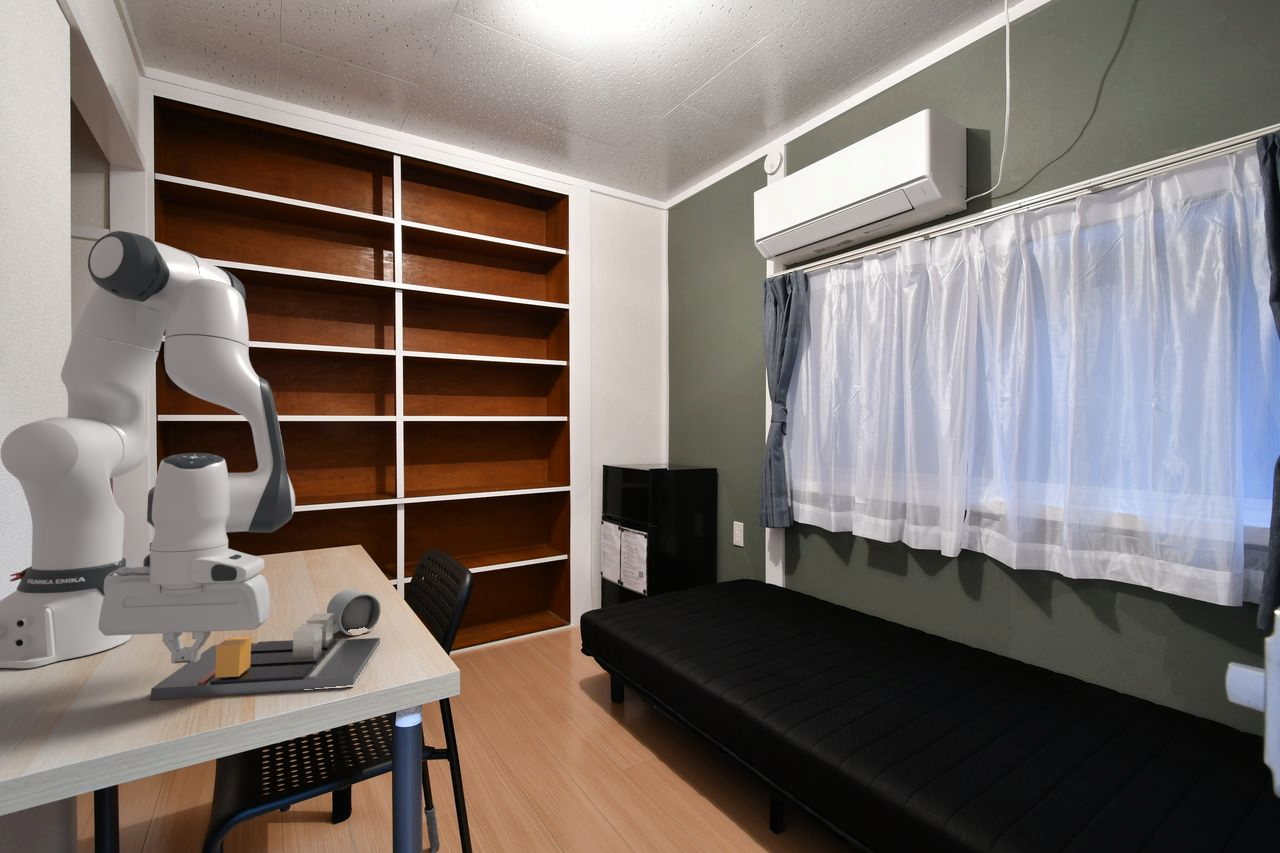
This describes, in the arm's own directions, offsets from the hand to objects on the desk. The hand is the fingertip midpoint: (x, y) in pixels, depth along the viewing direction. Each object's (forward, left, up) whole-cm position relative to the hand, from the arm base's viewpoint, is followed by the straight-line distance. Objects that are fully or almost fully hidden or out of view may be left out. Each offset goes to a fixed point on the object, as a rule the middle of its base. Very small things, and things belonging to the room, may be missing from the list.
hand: (186, 661), depth 81 cm
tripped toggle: (+6, 0, -2) cm, 6 cm away
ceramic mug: (+15, +22, -4) cm, 27 cm away
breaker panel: (+10, +6, -4) cm, 12 cm away
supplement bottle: (-31, +52, -4) cm, 60 cm away
